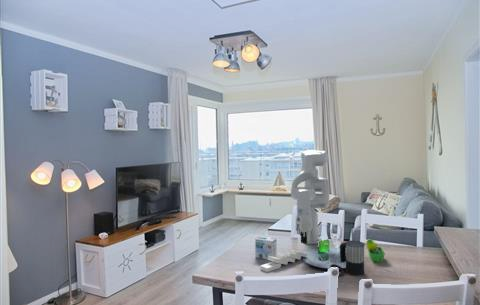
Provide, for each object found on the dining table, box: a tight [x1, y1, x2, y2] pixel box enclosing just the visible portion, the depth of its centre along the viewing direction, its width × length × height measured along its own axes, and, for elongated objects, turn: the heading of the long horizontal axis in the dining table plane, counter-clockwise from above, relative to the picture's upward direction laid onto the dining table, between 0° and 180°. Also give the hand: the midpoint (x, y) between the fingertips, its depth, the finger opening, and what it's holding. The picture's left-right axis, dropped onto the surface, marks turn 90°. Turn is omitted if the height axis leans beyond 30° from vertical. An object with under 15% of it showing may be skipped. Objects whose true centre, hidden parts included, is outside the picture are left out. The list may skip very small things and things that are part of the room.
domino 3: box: [276, 252, 296, 263], centre depth 181 cm, size 2×5×10 cm
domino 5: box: [288, 249, 308, 258], centre depth 189 cm, size 2×5×10 cm
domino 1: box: [259, 261, 282, 273], centre depth 174 cm, size 2×5×10 cm
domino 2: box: [267, 256, 289, 266], centre depth 178 cm, size 2×5×10 cm
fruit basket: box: [365, 238, 386, 263], centre depth 186 cm, size 11×9×11 cm
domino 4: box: [282, 250, 302, 261], centre depth 185 cm, size 2×5×10 cm
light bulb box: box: [254, 235, 277, 260], centre depth 191 cm, size 11×7×11 cm, turn 62°
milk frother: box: [329, 240, 366, 277], centre depth 167 cm, size 14×16×15 cm
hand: (303, 242), depth 192 cm, fingers closed
